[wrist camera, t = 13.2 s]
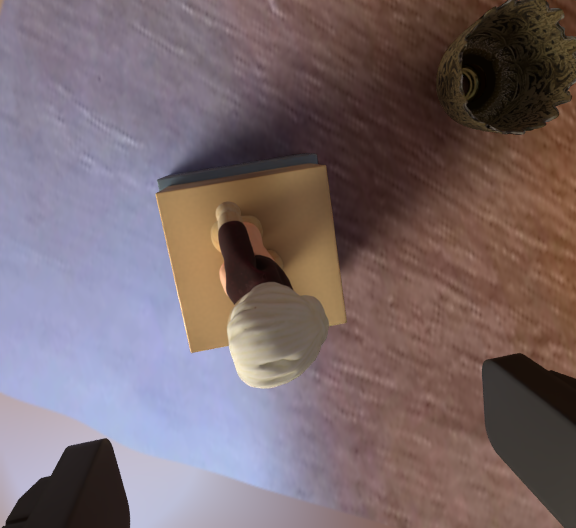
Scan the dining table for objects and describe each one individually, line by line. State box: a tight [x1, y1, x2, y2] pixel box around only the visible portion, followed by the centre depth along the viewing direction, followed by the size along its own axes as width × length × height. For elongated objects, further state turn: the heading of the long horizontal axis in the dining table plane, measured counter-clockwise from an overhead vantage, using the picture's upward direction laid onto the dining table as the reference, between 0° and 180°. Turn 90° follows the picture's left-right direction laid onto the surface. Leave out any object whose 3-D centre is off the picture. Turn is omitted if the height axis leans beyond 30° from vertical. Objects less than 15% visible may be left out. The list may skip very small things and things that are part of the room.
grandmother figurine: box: [211, 201, 329, 388], centre depth 20 cm, size 8×4×13 cm, turn 37°
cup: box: [436, 0, 576, 135], centre depth 31 cm, size 8×7×8 cm
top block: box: [156, 163, 347, 353], centre depth 28 cm, size 9×9×5 cm
